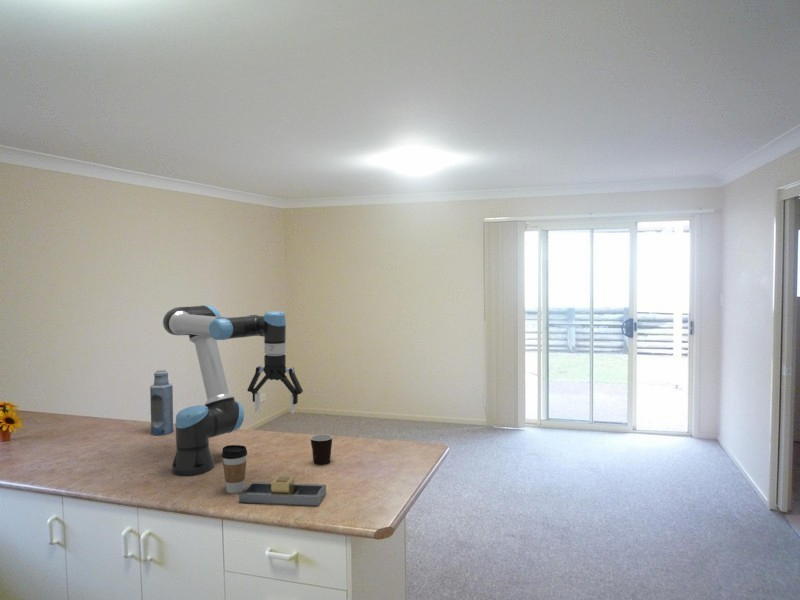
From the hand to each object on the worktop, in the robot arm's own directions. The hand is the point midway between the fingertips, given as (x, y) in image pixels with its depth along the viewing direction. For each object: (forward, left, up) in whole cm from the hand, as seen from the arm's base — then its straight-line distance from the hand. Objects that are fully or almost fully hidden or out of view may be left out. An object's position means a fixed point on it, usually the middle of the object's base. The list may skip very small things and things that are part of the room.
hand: (275, 411), depth 193 cm
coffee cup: (-10, -12, -25) cm, 29 cm away
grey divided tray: (+9, -17, -25) cm, 31 cm away
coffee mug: (+13, +19, -25) cm, 34 cm away
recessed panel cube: (+9, -17, -24) cm, 31 cm away
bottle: (-74, +50, -25) cm, 93 cm away
